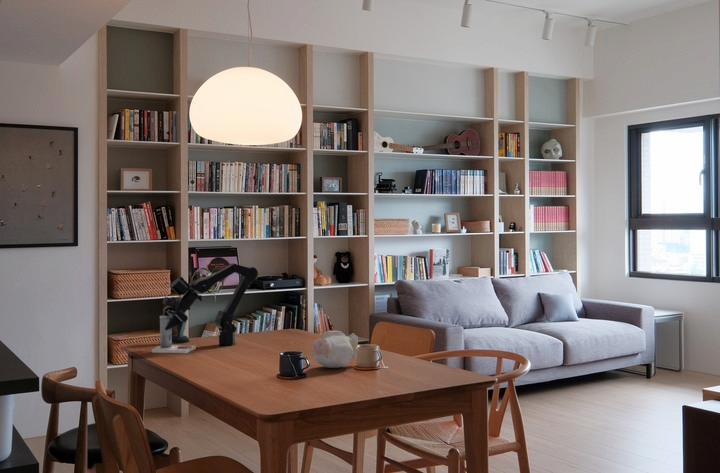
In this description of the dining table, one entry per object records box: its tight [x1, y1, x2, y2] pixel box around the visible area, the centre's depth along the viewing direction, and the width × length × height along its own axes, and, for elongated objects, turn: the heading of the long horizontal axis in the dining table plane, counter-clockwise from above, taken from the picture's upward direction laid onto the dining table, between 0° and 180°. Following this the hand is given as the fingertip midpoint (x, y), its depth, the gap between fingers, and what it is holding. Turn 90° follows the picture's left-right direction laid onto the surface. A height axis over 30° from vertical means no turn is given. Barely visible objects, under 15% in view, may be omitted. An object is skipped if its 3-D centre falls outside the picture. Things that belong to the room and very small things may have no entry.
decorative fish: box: [311, 330, 359, 369], centre depth 304 cm, size 16×19×15 cm
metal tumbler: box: [159, 314, 173, 348], centre depth 349 cm, size 5×5×14 cm
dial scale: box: [151, 345, 197, 354], centre depth 350 cm, size 16×12×2 cm
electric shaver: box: [163, 304, 190, 344], centre depth 374 cm, size 9×12×20 cm
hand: (162, 328), depth 348 cm, fingers open, 9 cm apart
